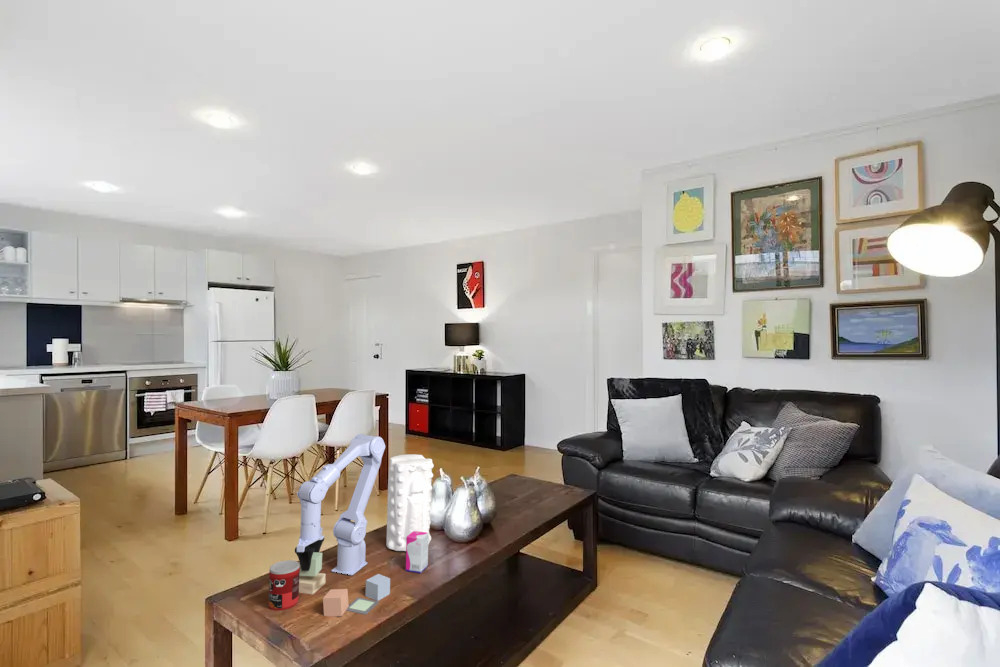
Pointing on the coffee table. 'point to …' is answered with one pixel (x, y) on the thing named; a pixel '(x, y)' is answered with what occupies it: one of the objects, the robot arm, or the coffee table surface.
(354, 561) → the robot arm
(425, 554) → the supplement box
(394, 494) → the vase
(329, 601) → the terracotta cube
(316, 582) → the maple slab
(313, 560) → the sage cube
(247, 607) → the coffee table surface
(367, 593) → the slate blue cube
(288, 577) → the canned food
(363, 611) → the tile
